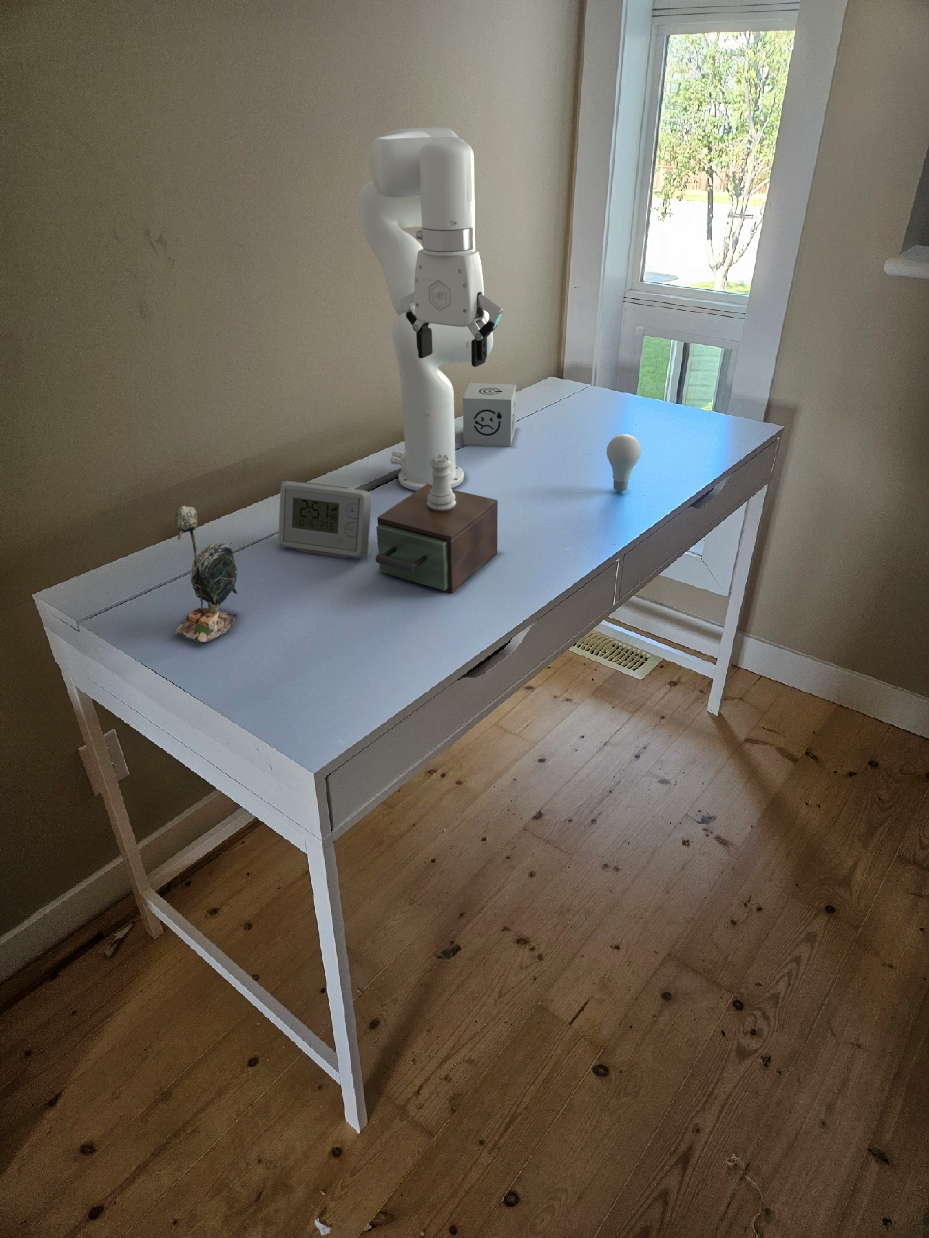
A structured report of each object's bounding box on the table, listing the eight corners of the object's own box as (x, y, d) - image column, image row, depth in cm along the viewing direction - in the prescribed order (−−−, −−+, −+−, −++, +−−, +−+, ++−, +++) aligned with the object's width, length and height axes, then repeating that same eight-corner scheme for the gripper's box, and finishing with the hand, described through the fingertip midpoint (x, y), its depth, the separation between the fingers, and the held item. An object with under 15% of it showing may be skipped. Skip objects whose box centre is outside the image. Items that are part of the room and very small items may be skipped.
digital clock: (273, 548, 138) (264, 489, 132) (307, 526, 144) (300, 469, 138) (353, 570, 131) (346, 509, 125) (385, 546, 137) (380, 487, 132)
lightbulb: (614, 482, 158) (619, 426, 152) (642, 490, 154) (648, 434, 148) (597, 493, 154) (601, 436, 148) (626, 501, 150) (631, 444, 144)
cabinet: (452, 593, 125) (450, 536, 119) (381, 572, 130) (377, 517, 125) (497, 553, 135) (497, 500, 130) (429, 535, 140) (427, 483, 135)
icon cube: (515, 429, 182) (515, 384, 176) (510, 446, 174) (511, 399, 168) (470, 427, 183) (469, 383, 178) (463, 444, 175) (462, 398, 169)
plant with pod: (263, 617, 120) (240, 490, 109) (196, 652, 113) (165, 520, 102) (229, 598, 125) (204, 475, 114) (163, 631, 117) (129, 502, 106)
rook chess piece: (452, 513, 126) (451, 463, 121) (424, 511, 127) (421, 462, 122) (458, 500, 130) (457, 452, 125) (431, 498, 130) (428, 450, 126)
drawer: (429, 604, 121) (426, 557, 116) (363, 583, 126) (358, 538, 121) (487, 554, 133) (487, 510, 129) (425, 537, 138) (423, 494, 134)
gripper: (384, 240, 120) (392, 359, 130) (488, 249, 113) (488, 374, 122) (413, 233, 126) (418, 347, 135) (514, 241, 118) (512, 361, 127)
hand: (451, 360), depth 129 cm, fingers open, 9 cm apart
